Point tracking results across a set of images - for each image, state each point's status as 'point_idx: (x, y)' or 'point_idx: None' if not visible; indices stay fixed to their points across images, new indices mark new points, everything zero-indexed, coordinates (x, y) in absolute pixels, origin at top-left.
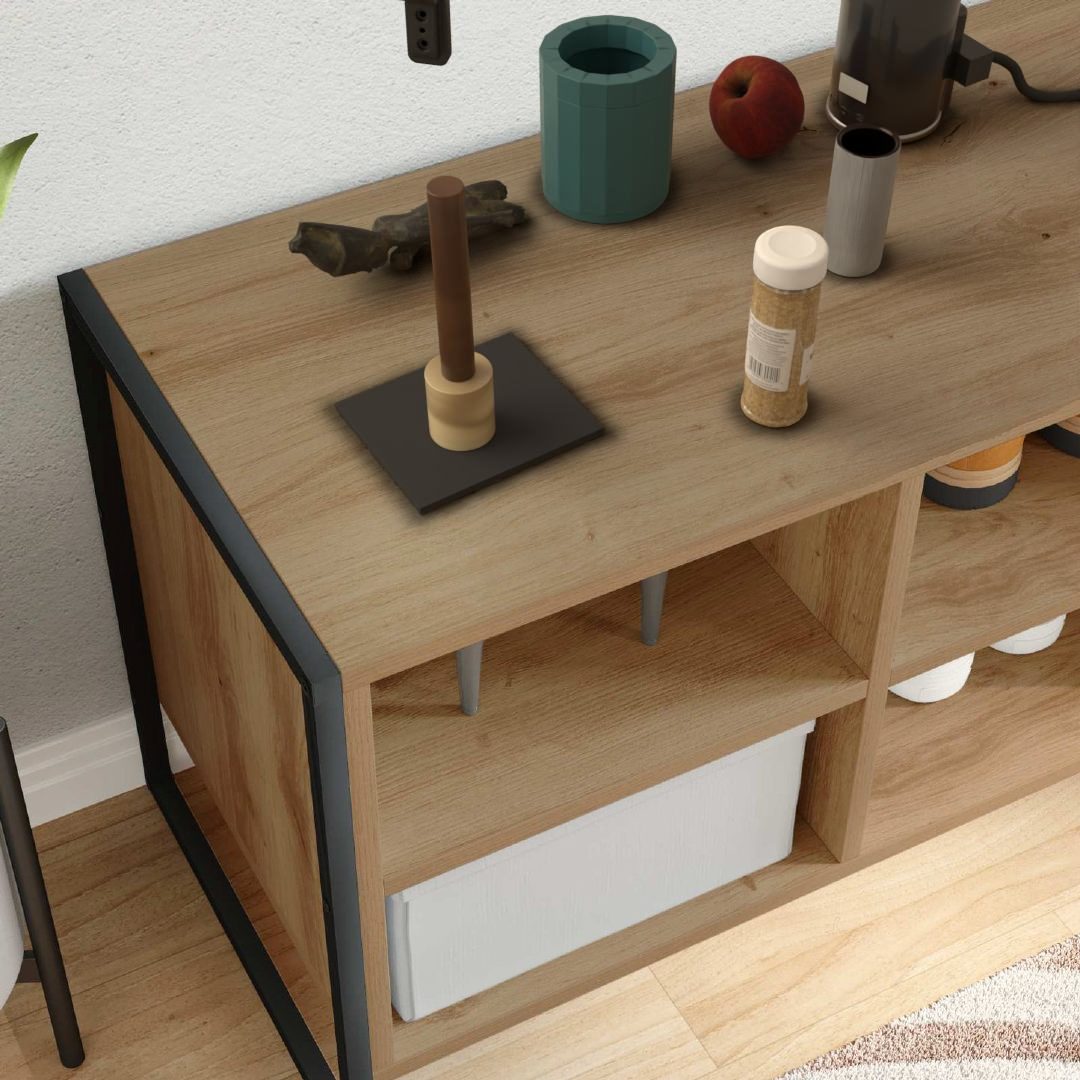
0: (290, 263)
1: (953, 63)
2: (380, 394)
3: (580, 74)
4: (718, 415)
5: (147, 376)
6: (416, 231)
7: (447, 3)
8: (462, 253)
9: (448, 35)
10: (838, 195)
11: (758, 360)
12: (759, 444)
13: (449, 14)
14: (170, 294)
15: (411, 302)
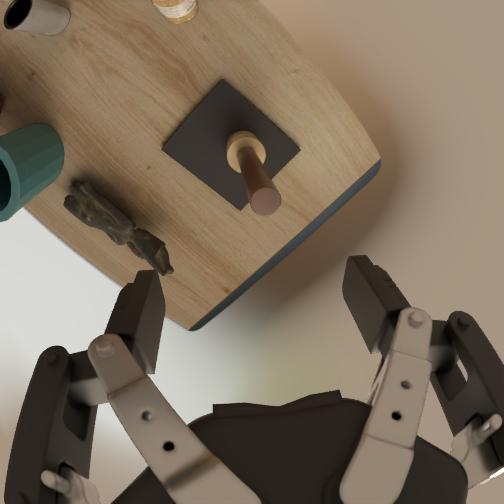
0: (149, 267)
1: None
2: (228, 193)
3: (14, 186)
4: (192, 31)
5: (240, 286)
6: (127, 222)
7: (393, 303)
8: (264, 171)
9: (374, 273)
10: (43, 19)
11: (191, 4)
12: (210, 9)
13: (378, 290)
14: (189, 299)
15: (153, 206)
